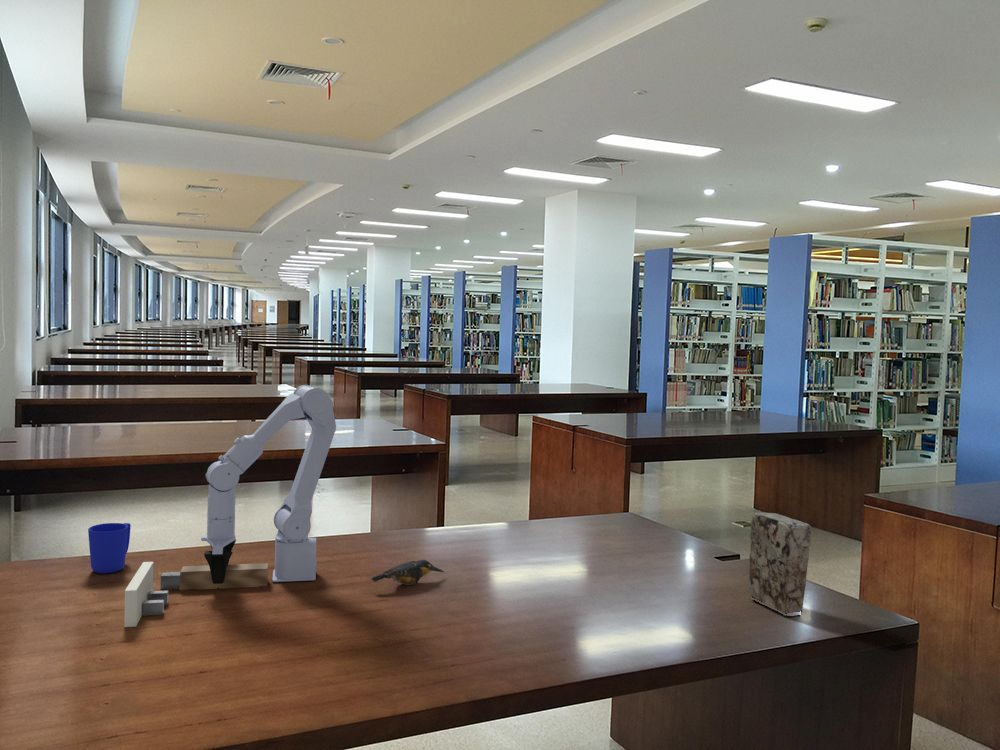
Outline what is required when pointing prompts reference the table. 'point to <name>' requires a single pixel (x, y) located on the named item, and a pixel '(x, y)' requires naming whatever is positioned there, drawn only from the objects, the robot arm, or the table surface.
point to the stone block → (779, 561)
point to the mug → (108, 546)
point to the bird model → (408, 572)
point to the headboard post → (143, 596)
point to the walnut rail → (202, 577)
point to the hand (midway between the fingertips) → (220, 577)
